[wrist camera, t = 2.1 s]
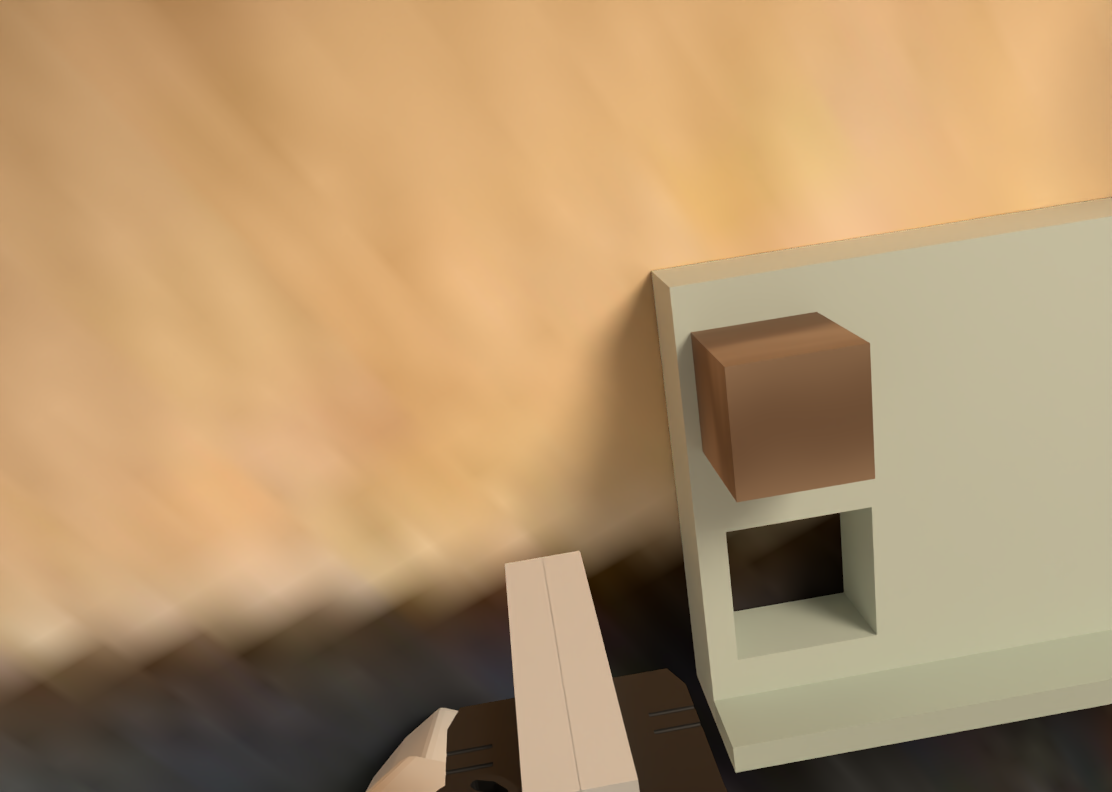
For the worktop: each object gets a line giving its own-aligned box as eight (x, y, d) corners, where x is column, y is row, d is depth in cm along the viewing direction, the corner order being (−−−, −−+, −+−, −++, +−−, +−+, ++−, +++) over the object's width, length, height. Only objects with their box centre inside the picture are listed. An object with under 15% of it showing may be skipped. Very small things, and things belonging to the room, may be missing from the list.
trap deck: (651, 270, 31) (688, 304, 25) (1415, 148, 32) (1602, 155, 26) (696, 675, 35) (735, 772, 30) (1357, 557, 37) (1504, 631, 31)
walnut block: (690, 332, 28) (724, 367, 24) (816, 311, 28) (870, 342, 25) (702, 451, 29) (736, 502, 26) (823, 431, 30) (875, 478, 26)
